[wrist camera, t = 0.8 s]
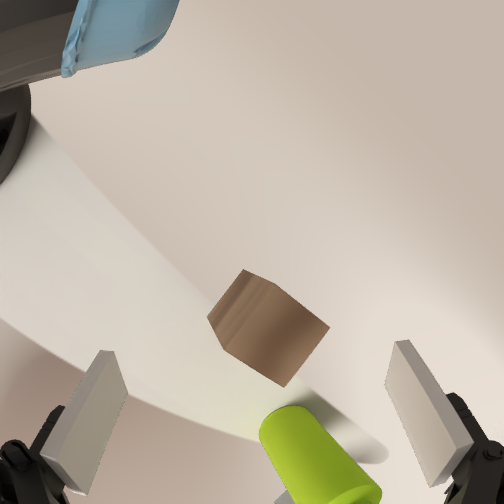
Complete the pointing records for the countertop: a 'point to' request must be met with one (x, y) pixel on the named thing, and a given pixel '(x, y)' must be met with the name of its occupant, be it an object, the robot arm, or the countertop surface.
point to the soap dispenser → (314, 461)
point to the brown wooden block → (265, 327)
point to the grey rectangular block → (285, 499)
